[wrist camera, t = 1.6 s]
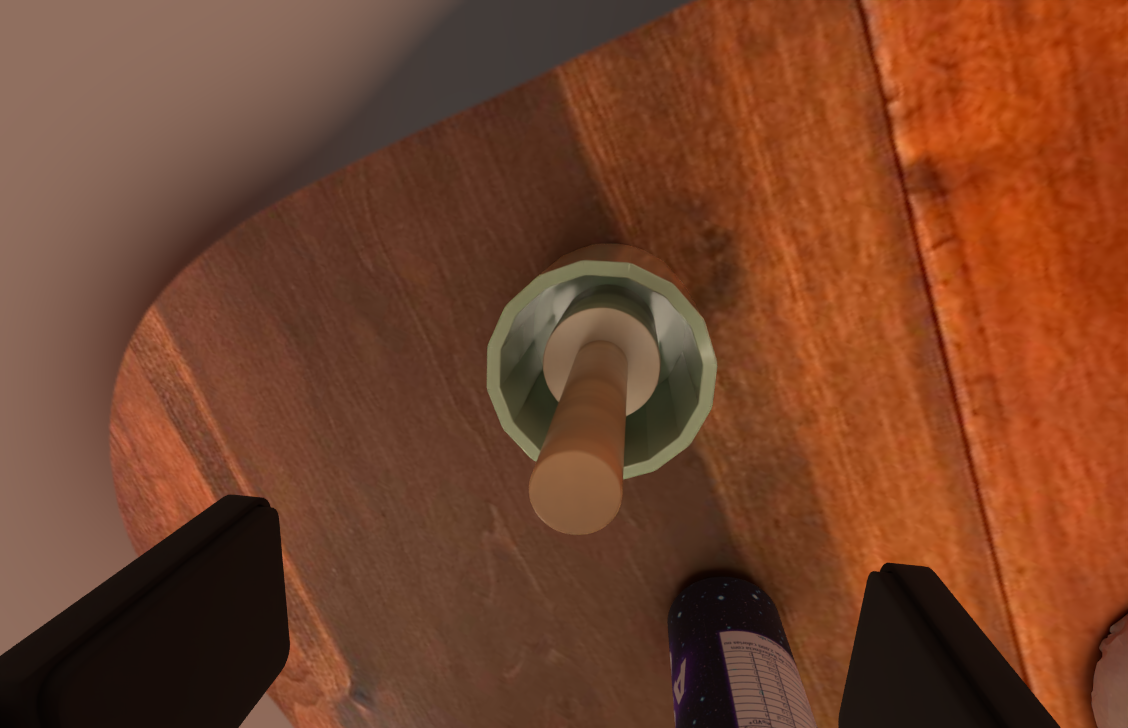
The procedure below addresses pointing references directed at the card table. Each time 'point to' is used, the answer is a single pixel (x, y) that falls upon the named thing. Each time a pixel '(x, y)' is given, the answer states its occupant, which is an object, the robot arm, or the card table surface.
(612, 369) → the bottle brush
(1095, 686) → the sculpture
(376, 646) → the card table surface
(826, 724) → the card table surface
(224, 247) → the card table surface
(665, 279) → the brush holder
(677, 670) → the beverage can
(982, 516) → the card table surface
